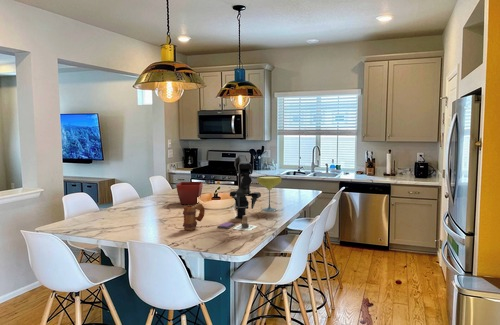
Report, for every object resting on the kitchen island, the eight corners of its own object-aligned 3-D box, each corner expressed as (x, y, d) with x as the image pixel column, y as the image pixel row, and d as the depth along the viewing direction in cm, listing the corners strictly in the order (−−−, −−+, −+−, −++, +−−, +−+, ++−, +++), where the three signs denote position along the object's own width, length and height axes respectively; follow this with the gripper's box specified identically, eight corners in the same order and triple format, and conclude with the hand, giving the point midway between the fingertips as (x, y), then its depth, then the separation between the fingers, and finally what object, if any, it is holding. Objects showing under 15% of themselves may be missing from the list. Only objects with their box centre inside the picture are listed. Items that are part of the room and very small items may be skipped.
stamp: (243, 226, 228) (243, 214, 228) (249, 226, 227) (249, 215, 226) (240, 227, 224) (240, 216, 224) (246, 228, 223) (246, 217, 222)
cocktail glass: (268, 213, 264) (268, 179, 262) (252, 209, 278) (252, 176, 276) (286, 210, 275) (286, 176, 274) (270, 206, 289) (269, 174, 287)
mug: (185, 232, 217) (185, 206, 216) (179, 229, 223) (179, 204, 222) (207, 228, 225) (207, 203, 224) (201, 225, 232) (200, 201, 231)
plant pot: (200, 205, 297) (199, 184, 296) (176, 205, 297) (175, 185, 296) (203, 201, 316) (203, 181, 315) (181, 201, 316) (180, 182, 315)
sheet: (240, 224, 233) (240, 223, 233) (258, 226, 229) (258, 225, 229) (232, 228, 223) (232, 228, 223) (250, 230, 218) (250, 230, 218)
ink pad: (225, 224, 235) (225, 222, 235) (234, 225, 232) (234, 223, 232) (217, 227, 226) (217, 225, 225) (227, 228, 223) (227, 226, 223)
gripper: (225, 184, 221) (225, 209, 222) (253, 185, 213) (253, 212, 215) (233, 181, 231) (234, 206, 233) (261, 183, 224) (261, 208, 225)
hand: (245, 208), depth 226 cm, fingers open, 9 cm apart
